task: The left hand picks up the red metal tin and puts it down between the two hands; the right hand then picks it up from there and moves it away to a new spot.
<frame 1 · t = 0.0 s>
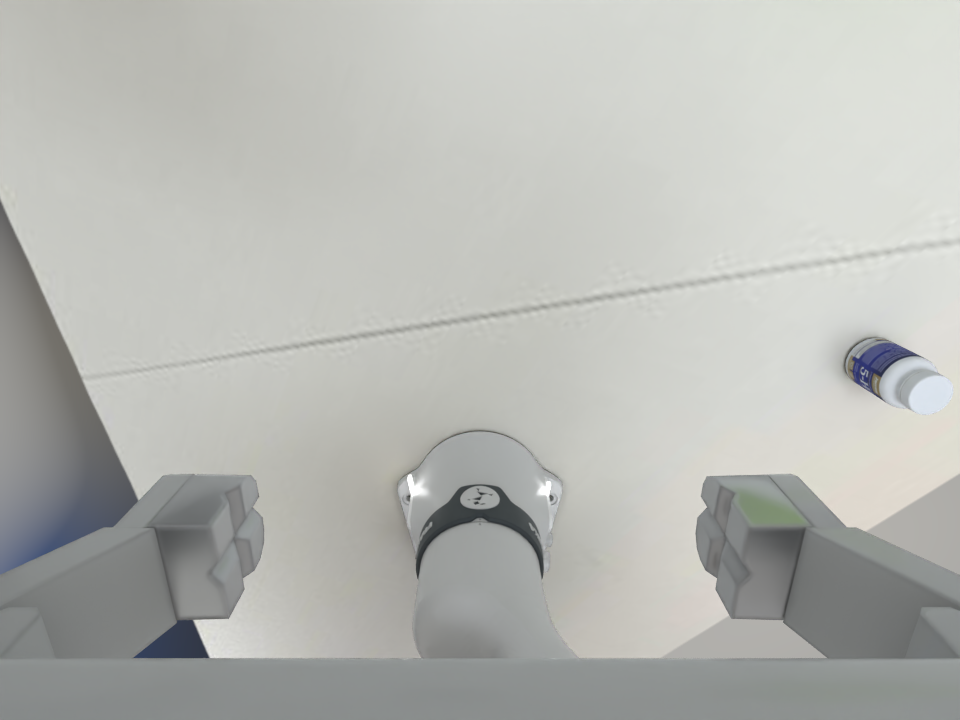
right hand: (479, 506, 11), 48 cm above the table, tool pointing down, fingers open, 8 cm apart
pill bottle: (868, 360, 61), on the table
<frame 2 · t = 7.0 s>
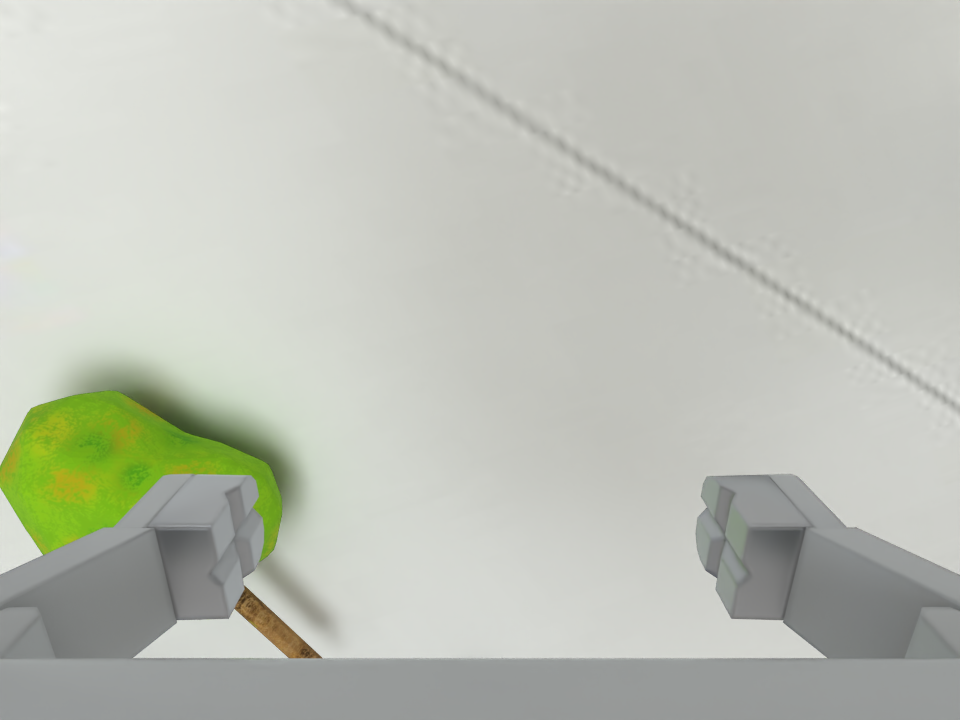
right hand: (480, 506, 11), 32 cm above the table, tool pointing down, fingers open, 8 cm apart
decorative tree: (222, 511, 48), on the table
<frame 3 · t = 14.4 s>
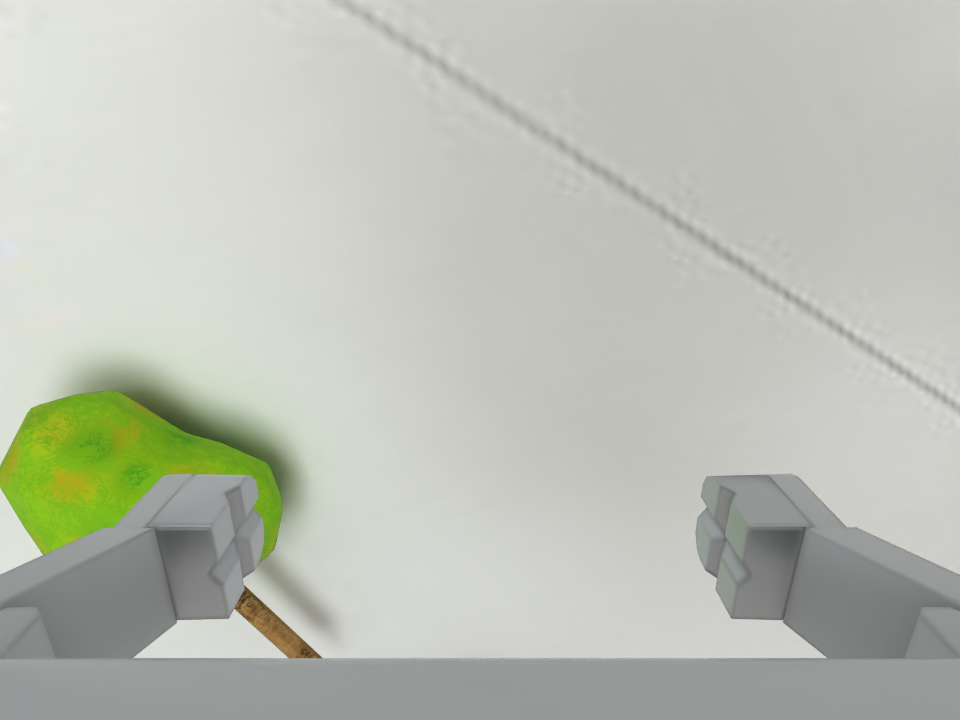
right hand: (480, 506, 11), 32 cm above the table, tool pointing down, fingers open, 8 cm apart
decorative tree: (222, 511, 48), on the table
when the left hand's fingers open (1 cm above the table, at t = 21.9 s): tin stays where it is, on the table.
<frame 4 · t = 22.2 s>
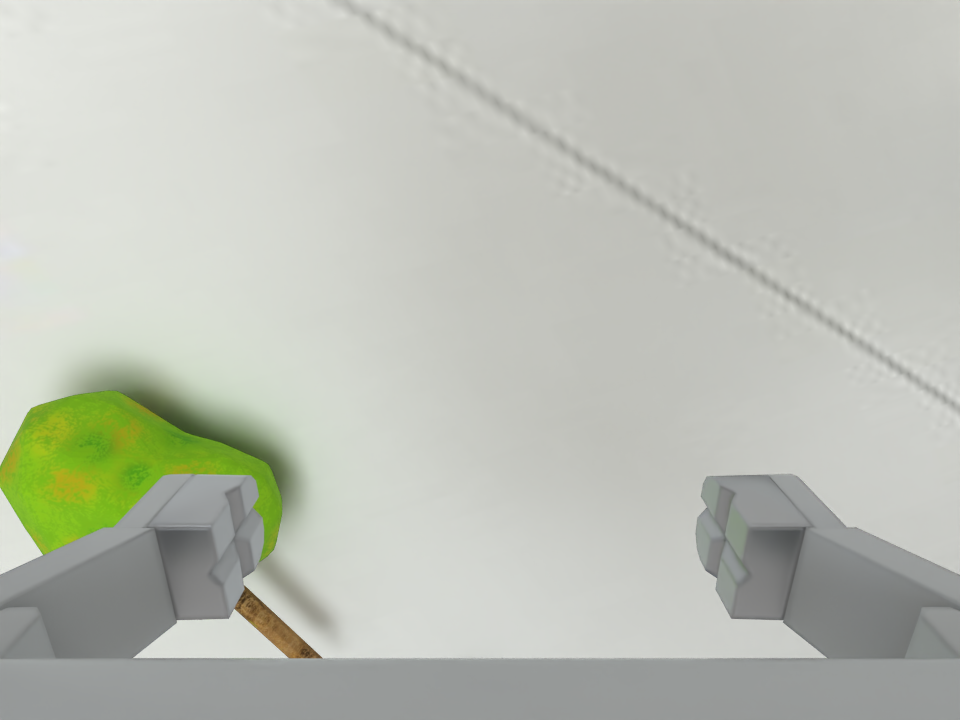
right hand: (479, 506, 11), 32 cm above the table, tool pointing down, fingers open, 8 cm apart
decorative tree: (222, 511, 48), on the table
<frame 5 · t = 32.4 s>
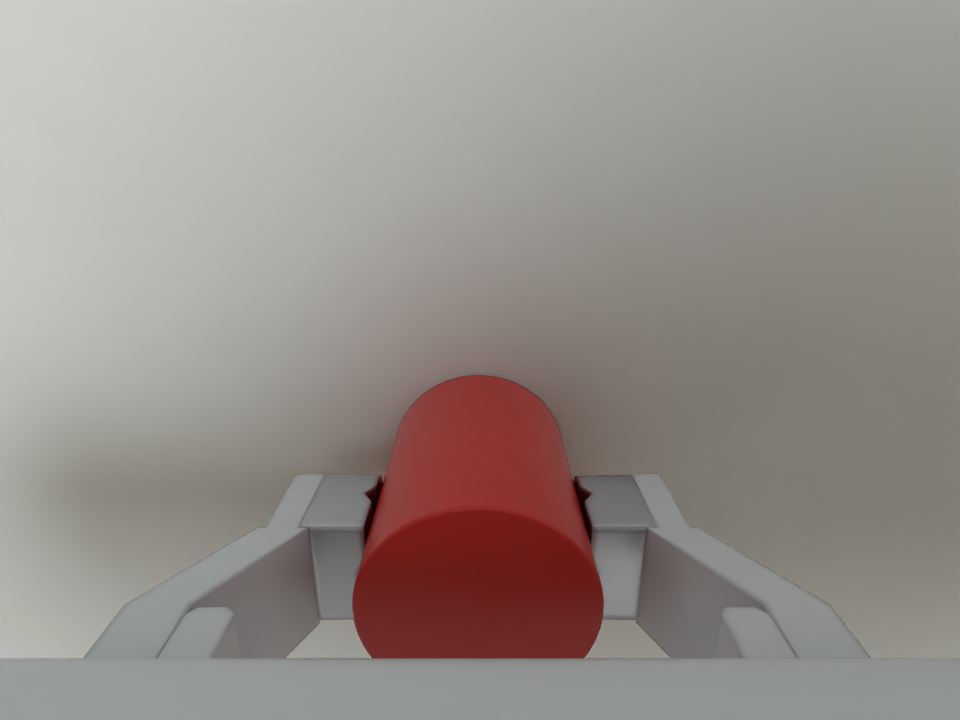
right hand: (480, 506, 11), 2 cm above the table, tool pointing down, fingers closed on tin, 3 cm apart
tin: (478, 451, 12), on the table, touching right hand
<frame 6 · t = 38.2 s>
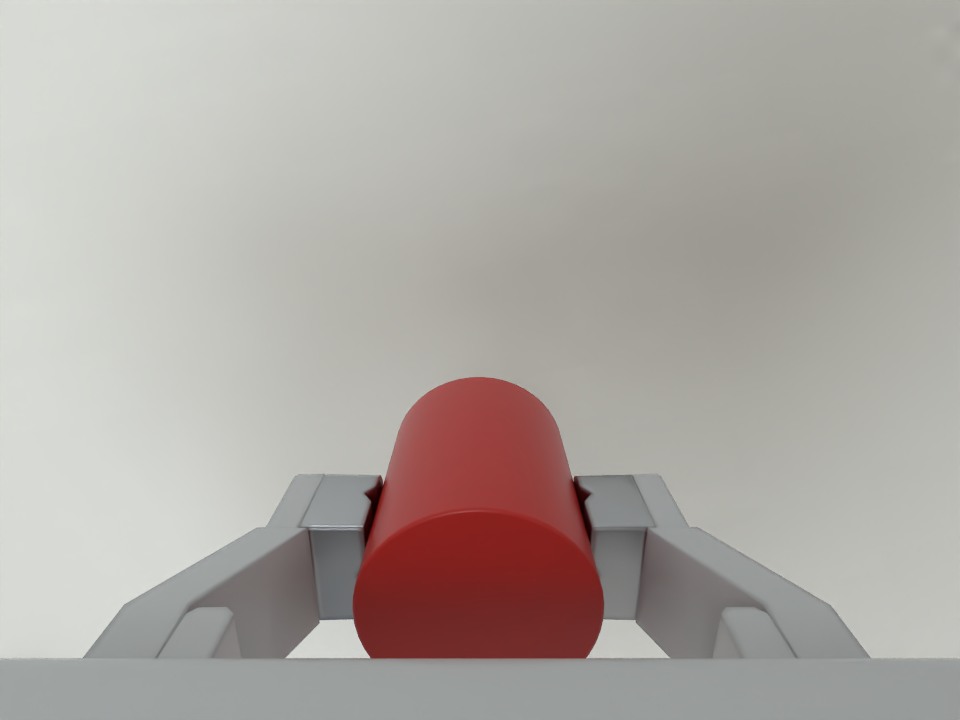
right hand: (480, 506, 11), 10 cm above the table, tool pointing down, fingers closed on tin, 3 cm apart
tin: (479, 452, 12), point 9 cm above the table, touching right hand
when the right hand's fingers open (3 cm above the table, at t = 44.5 s): tin stays where it is, on the table.
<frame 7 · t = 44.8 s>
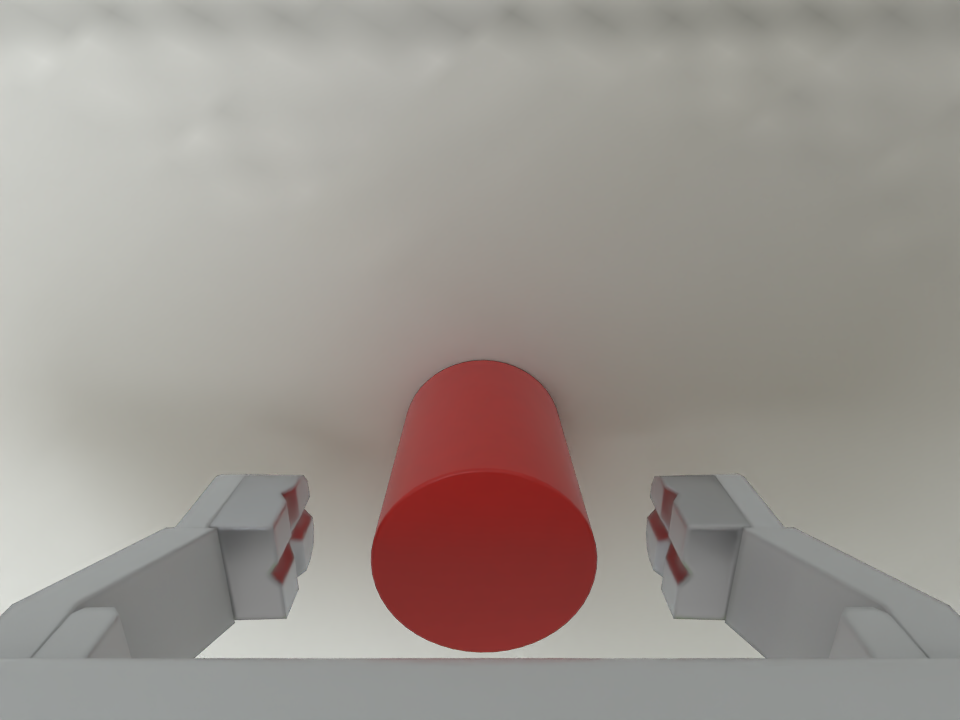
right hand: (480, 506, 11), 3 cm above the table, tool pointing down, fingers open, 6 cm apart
tin: (482, 431, 13), on the table
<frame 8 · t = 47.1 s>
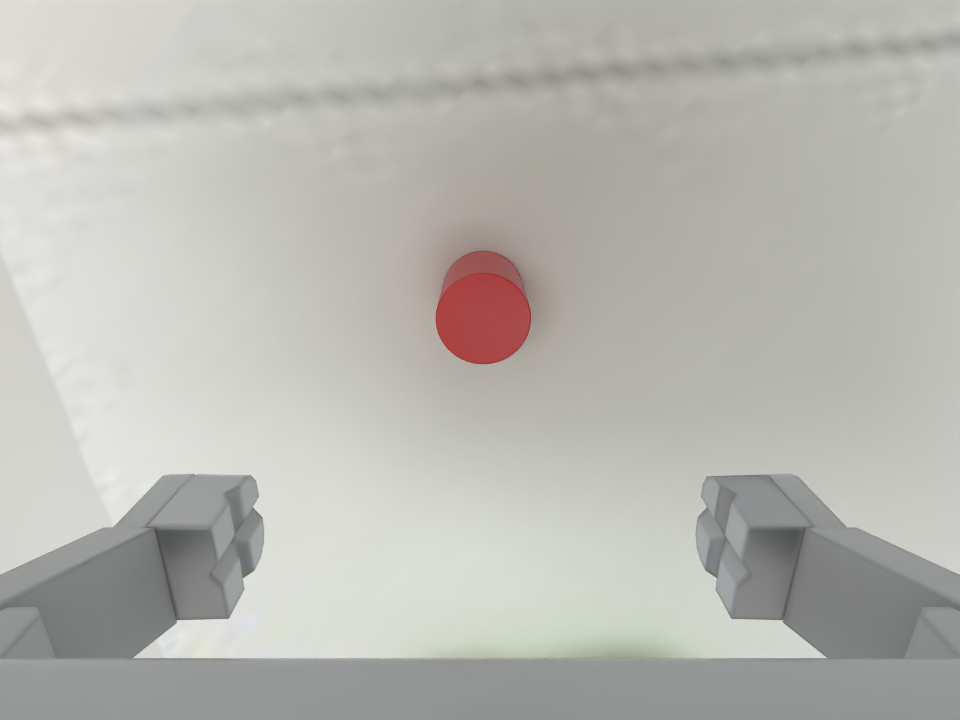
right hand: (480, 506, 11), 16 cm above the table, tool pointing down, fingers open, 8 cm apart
tin: (482, 290, 25), on the table
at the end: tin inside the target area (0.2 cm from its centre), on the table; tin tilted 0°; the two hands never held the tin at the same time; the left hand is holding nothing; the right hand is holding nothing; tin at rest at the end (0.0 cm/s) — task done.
